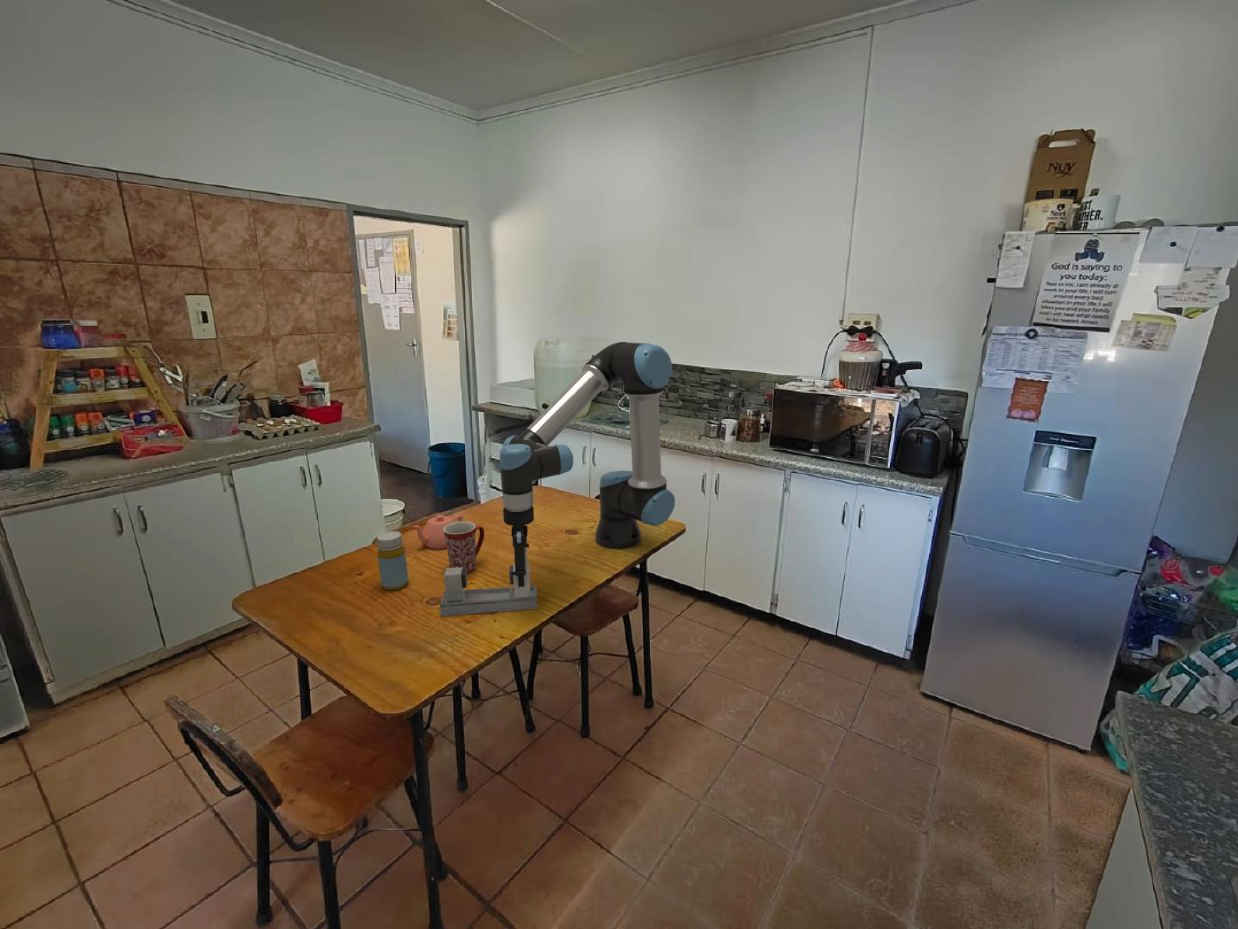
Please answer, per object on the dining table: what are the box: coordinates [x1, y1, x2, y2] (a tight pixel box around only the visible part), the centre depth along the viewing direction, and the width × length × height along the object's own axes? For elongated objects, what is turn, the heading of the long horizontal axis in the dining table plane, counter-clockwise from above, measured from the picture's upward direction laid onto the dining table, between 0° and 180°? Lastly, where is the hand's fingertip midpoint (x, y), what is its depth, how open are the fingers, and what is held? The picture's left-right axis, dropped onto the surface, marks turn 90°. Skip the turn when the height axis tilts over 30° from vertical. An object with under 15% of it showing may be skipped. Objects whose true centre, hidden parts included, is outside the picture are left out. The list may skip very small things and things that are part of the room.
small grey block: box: [508, 562, 531, 598], centre depth 144 cm, size 5×4×8 cm
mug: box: [443, 521, 485, 575], centre depth 164 cm, size 13×9×14 cm
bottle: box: [376, 530, 409, 592], centre depth 153 cm, size 7×7×15 cm
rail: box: [439, 567, 538, 617], centre depth 143 cm, size 24×7×10 cm, turn 99°
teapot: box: [411, 514, 464, 550], centre depth 181 cm, size 12×18×10 cm
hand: (522, 583), depth 144 cm, fingers open, 13 cm apart
